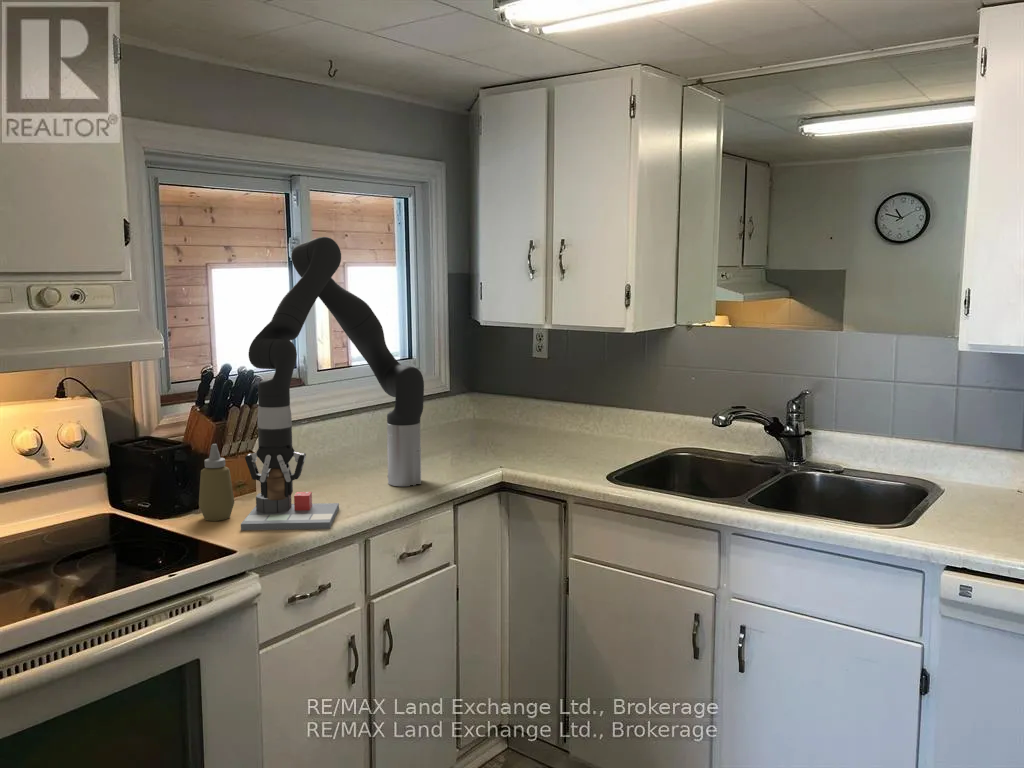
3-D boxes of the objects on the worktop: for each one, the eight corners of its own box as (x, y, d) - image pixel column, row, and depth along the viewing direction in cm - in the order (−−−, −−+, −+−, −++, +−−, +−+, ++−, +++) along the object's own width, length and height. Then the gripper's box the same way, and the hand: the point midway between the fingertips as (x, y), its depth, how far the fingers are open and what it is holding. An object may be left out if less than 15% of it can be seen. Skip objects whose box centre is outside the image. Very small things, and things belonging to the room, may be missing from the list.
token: (288, 495, 192) (287, 464, 191) (284, 500, 187) (283, 468, 186) (269, 495, 191) (268, 464, 190) (265, 500, 187) (264, 469, 186)
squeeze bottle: (204, 525, 189) (201, 449, 186) (195, 516, 195) (191, 443, 193) (239, 519, 193) (236, 445, 191) (229, 511, 200) (226, 439, 198)
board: (338, 508, 202) (338, 489, 202) (329, 528, 187) (329, 507, 186) (257, 510, 201) (256, 490, 200) (241, 530, 185) (240, 509, 184)
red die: (312, 506, 200) (311, 491, 199) (309, 510, 196) (309, 495, 196) (297, 506, 199) (296, 491, 199) (294, 510, 196) (294, 495, 195)
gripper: (309, 421, 191) (310, 492, 194) (247, 422, 190) (249, 493, 192) (303, 427, 184) (305, 500, 186) (239, 427, 183) (241, 501, 185)
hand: (276, 496), depth 189 cm, fingers closed on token, 4 cm apart
